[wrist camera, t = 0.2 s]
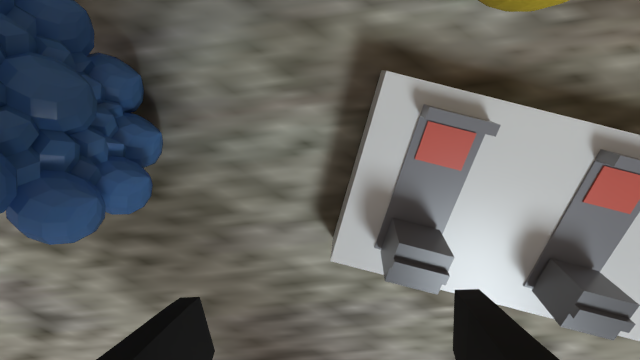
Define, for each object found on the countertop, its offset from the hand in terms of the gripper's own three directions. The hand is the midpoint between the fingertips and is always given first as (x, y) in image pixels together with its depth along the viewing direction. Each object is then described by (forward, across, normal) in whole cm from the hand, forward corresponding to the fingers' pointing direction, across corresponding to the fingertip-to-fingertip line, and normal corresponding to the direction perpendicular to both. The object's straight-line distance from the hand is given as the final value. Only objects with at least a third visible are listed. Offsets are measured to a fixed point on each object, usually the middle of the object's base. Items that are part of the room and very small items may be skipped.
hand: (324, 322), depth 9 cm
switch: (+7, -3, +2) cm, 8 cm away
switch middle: (+7, -11, +5) cm, 14 cm away
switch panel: (+10, -12, +2) cm, 16 cm away
